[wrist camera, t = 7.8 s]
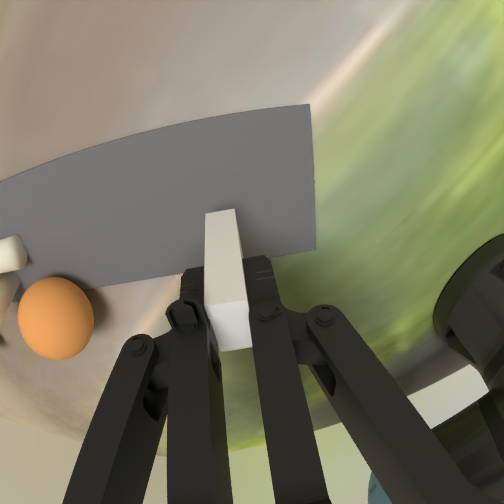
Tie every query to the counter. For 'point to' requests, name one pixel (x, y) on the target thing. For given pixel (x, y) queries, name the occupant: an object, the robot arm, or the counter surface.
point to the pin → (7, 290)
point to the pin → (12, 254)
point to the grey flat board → (165, 199)
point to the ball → (55, 318)
